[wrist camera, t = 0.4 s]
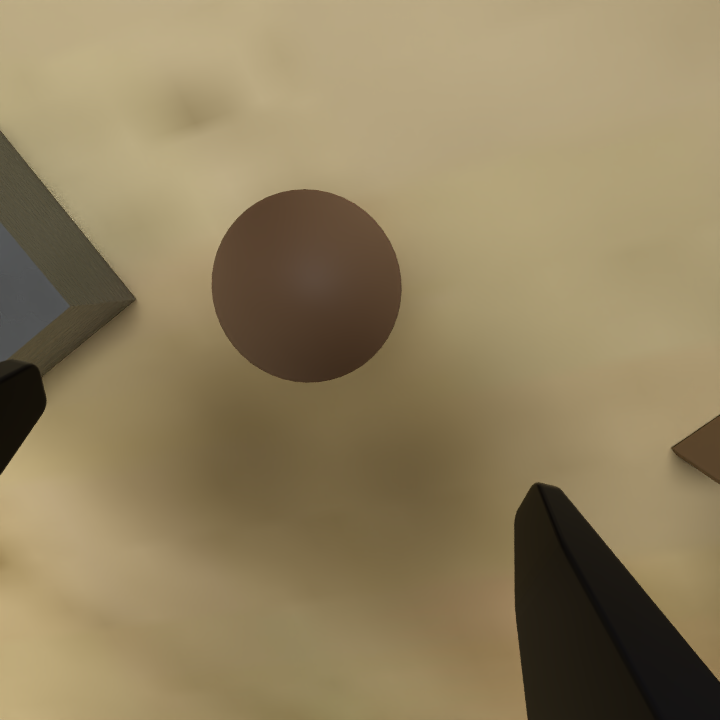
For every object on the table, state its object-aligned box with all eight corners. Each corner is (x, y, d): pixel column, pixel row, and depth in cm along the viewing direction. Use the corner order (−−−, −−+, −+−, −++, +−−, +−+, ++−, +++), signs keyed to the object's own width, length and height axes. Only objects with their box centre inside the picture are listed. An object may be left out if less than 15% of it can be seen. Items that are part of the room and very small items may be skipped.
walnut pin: (341, 337, 23) (289, 417, 11) (290, 270, 23) (173, 269, 10) (407, 287, 23) (439, 309, 10) (357, 218, 22) (323, 146, 9)
